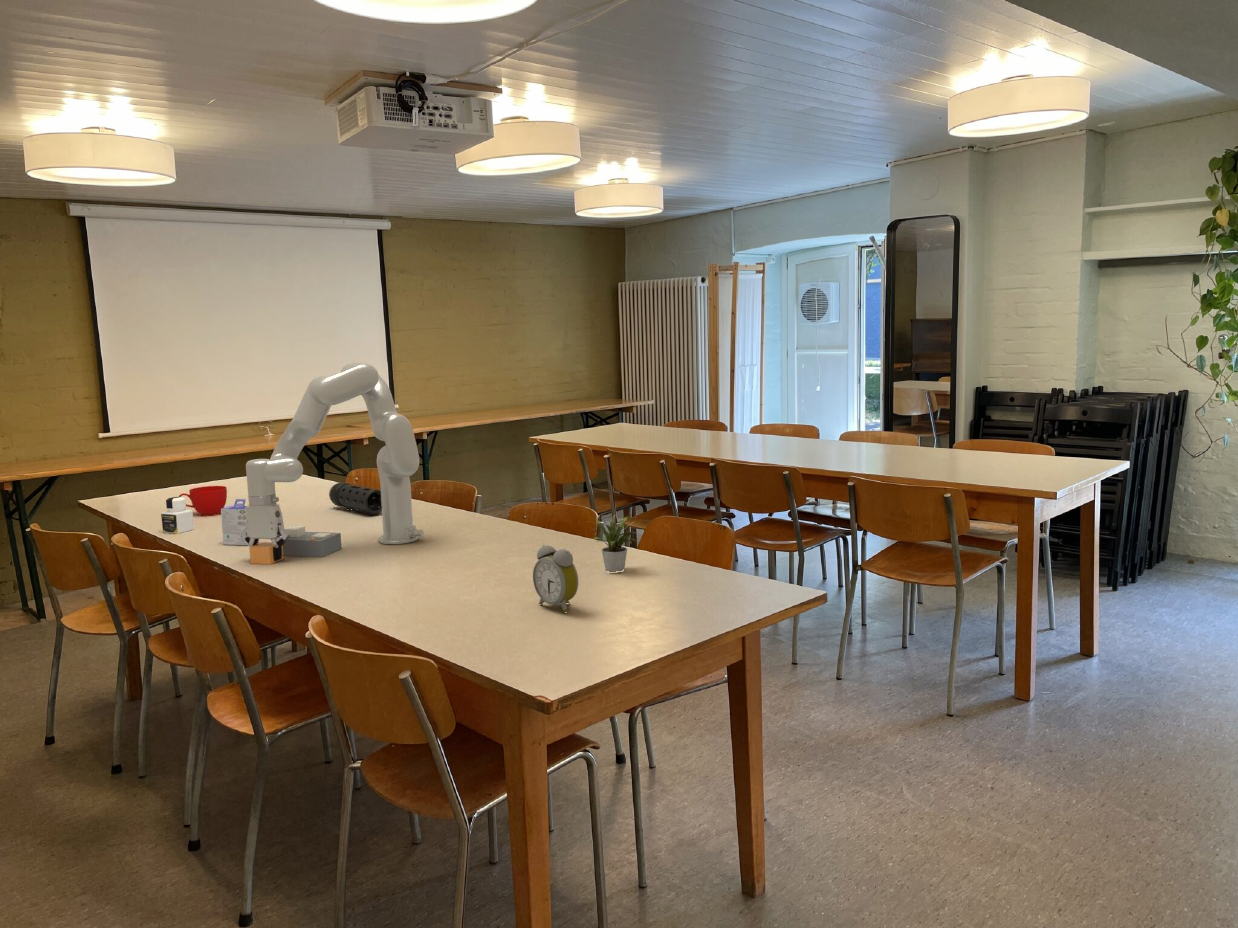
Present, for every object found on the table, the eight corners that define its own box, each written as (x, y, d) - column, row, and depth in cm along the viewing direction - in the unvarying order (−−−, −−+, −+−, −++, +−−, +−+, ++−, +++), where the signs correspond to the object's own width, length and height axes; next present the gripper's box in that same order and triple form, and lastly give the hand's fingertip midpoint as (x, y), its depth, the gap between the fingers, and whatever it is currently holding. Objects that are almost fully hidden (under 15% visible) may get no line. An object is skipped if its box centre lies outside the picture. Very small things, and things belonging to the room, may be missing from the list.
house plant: (592, 580, 231) (590, 521, 229) (580, 567, 245) (578, 511, 242) (642, 575, 235) (642, 517, 233) (628, 563, 248) (627, 507, 246)
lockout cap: (283, 558, 261) (282, 542, 261) (270, 564, 255) (268, 547, 254) (264, 557, 263) (263, 541, 262) (250, 563, 257) (249, 547, 256)
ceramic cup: (180, 513, 334) (178, 488, 332) (228, 509, 341) (226, 484, 339) (179, 520, 322) (176, 493, 321) (229, 515, 329) (226, 489, 328)
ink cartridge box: (260, 542, 284) (256, 498, 282) (249, 546, 279) (246, 502, 277) (233, 541, 286) (229, 498, 284) (222, 545, 281) (218, 501, 279)
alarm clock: (532, 605, 211) (530, 545, 209) (553, 599, 216) (552, 540, 213) (563, 615, 203) (562, 553, 200) (585, 609, 207) (583, 548, 205)
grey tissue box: (341, 548, 273) (340, 531, 272) (322, 557, 263) (320, 539, 262) (296, 546, 277) (295, 529, 276) (275, 555, 266) (274, 537, 265)
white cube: (305, 538, 272) (304, 526, 271) (297, 542, 268) (296, 529, 267) (293, 538, 273) (292, 525, 272) (285, 541, 269) (284, 529, 268)
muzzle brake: (366, 518, 319) (364, 491, 318) (327, 509, 338) (326, 483, 337) (388, 514, 326) (386, 487, 324) (350, 505, 345) (348, 480, 343)
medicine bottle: (162, 532, 301) (159, 498, 299) (179, 528, 308) (176, 495, 306) (177, 534, 298) (174, 500, 297) (194, 529, 305) (191, 496, 303)
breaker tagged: (331, 545, 270) (331, 533, 269) (324, 549, 266) (323, 536, 265) (319, 545, 271) (318, 533, 270) (311, 548, 267) (310, 536, 266)
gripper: (295, 499, 258) (300, 557, 261) (245, 497, 262) (249, 555, 264) (280, 503, 251) (285, 563, 253) (228, 502, 255) (233, 561, 257)
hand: (267, 558), depth 259 cm, fingers closed on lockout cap, 6 cm apart
